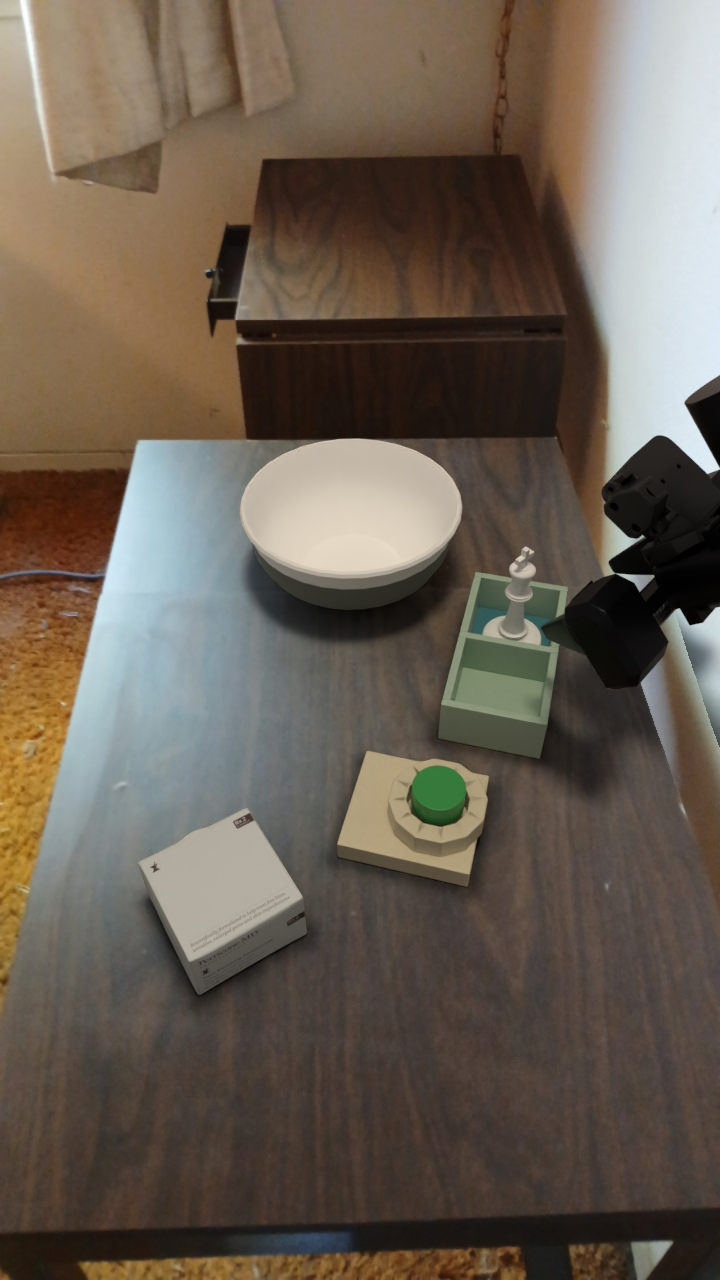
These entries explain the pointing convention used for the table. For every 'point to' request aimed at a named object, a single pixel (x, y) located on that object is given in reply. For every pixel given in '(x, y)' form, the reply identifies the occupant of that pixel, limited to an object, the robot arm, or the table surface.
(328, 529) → the bowl
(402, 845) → the beige button base
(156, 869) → the small box
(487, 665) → the green divided tray
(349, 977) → the table surface
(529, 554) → the chess piece
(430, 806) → the button
